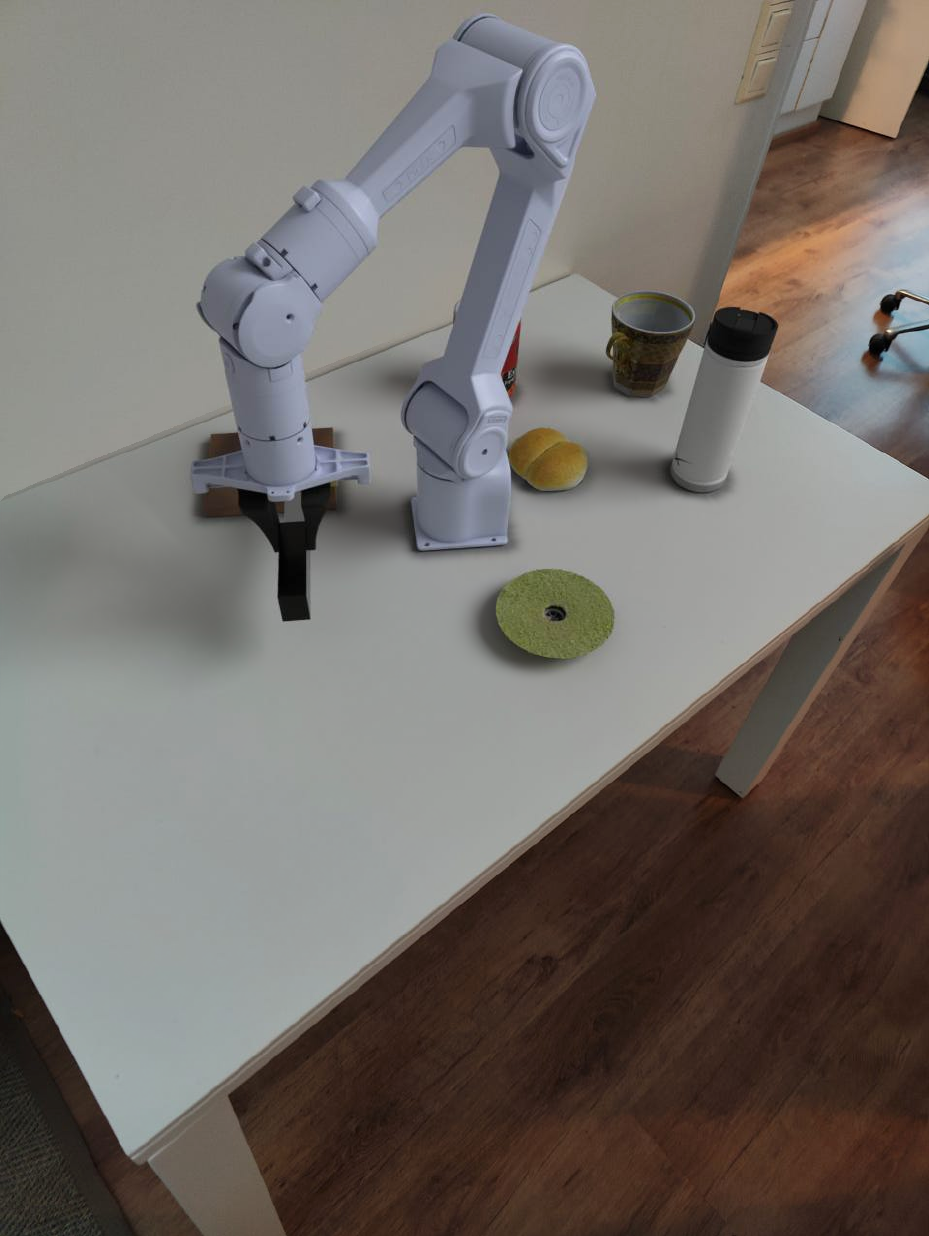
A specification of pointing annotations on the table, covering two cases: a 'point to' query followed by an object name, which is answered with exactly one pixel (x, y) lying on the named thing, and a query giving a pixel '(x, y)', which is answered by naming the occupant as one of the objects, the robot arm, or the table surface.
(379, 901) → the table surface
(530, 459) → the bread roll
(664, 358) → the ceramic cup
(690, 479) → the travel mug
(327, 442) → the butter board
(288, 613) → the two-tone black bar
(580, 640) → the green abrasive disc
